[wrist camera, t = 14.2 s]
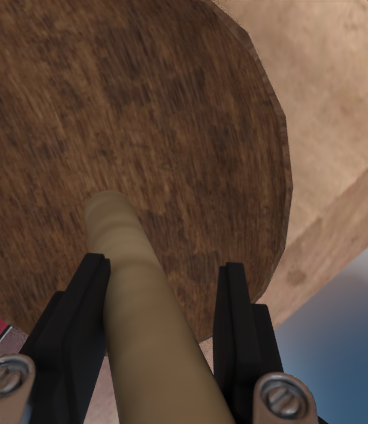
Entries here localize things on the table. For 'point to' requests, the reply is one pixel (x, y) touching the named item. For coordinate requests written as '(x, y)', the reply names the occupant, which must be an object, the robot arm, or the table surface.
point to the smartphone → (4, 329)
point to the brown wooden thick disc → (137, 146)
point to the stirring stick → (148, 328)
